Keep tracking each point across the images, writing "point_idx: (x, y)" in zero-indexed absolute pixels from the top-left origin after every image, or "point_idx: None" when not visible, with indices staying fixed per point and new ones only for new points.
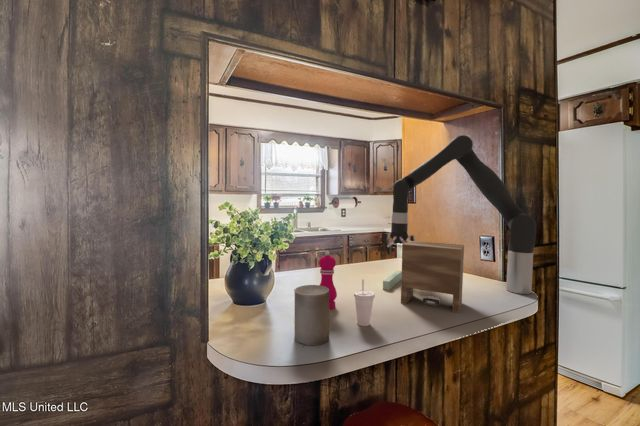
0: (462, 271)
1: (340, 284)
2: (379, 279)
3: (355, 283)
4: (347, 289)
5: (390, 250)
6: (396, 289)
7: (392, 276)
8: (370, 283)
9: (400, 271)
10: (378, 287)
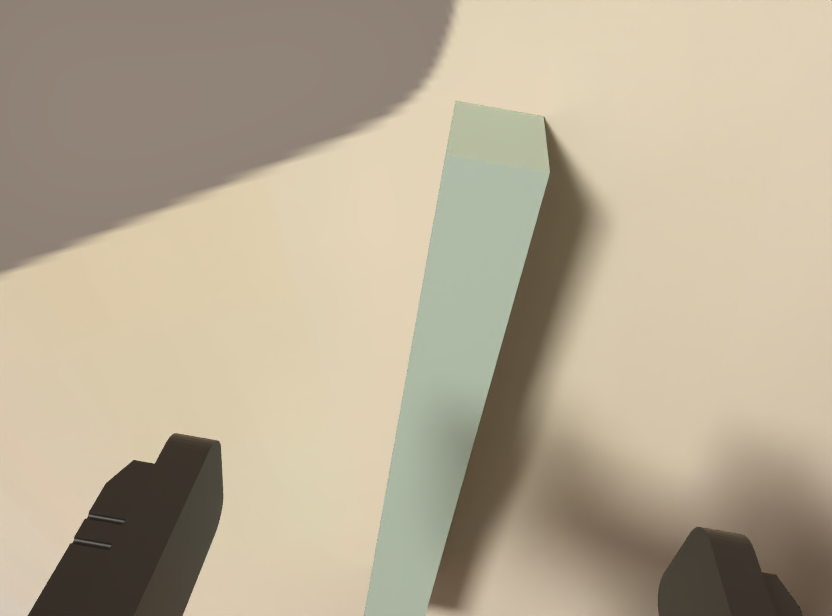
0: None
1: (6, 523)
2: (236, 278)
3: (89, 477)
4: None
5: (169, 590)
6: (489, 546)
7: (422, 509)
8: None
9: (516, 217)
10: (324, 530)
